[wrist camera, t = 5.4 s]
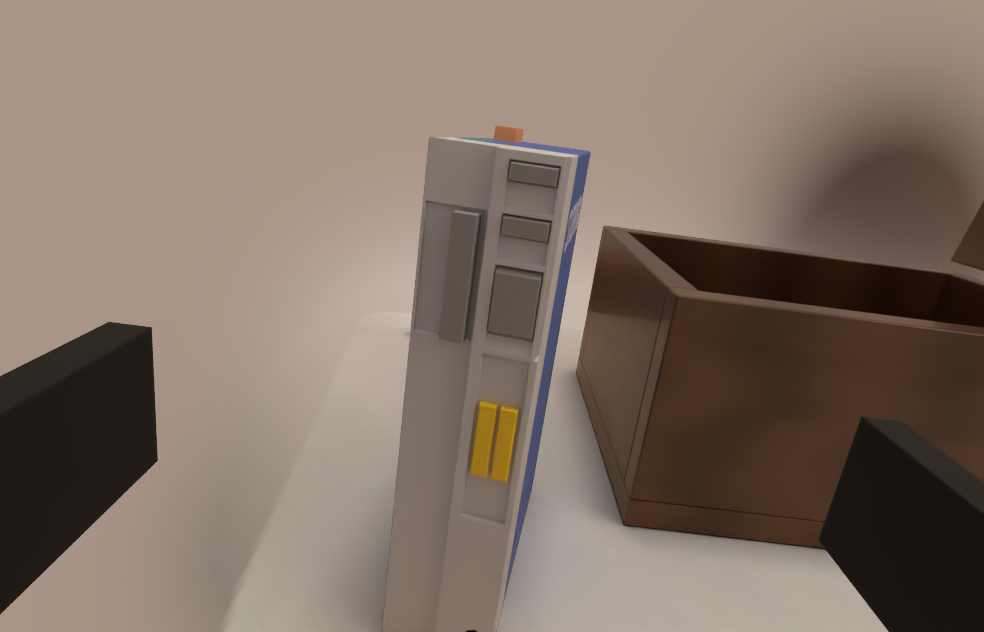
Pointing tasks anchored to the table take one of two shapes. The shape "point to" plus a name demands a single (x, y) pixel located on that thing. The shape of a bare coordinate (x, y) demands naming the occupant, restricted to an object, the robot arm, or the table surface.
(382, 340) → the table surface
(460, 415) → the walkman
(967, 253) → the chest lid
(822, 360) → the chest
